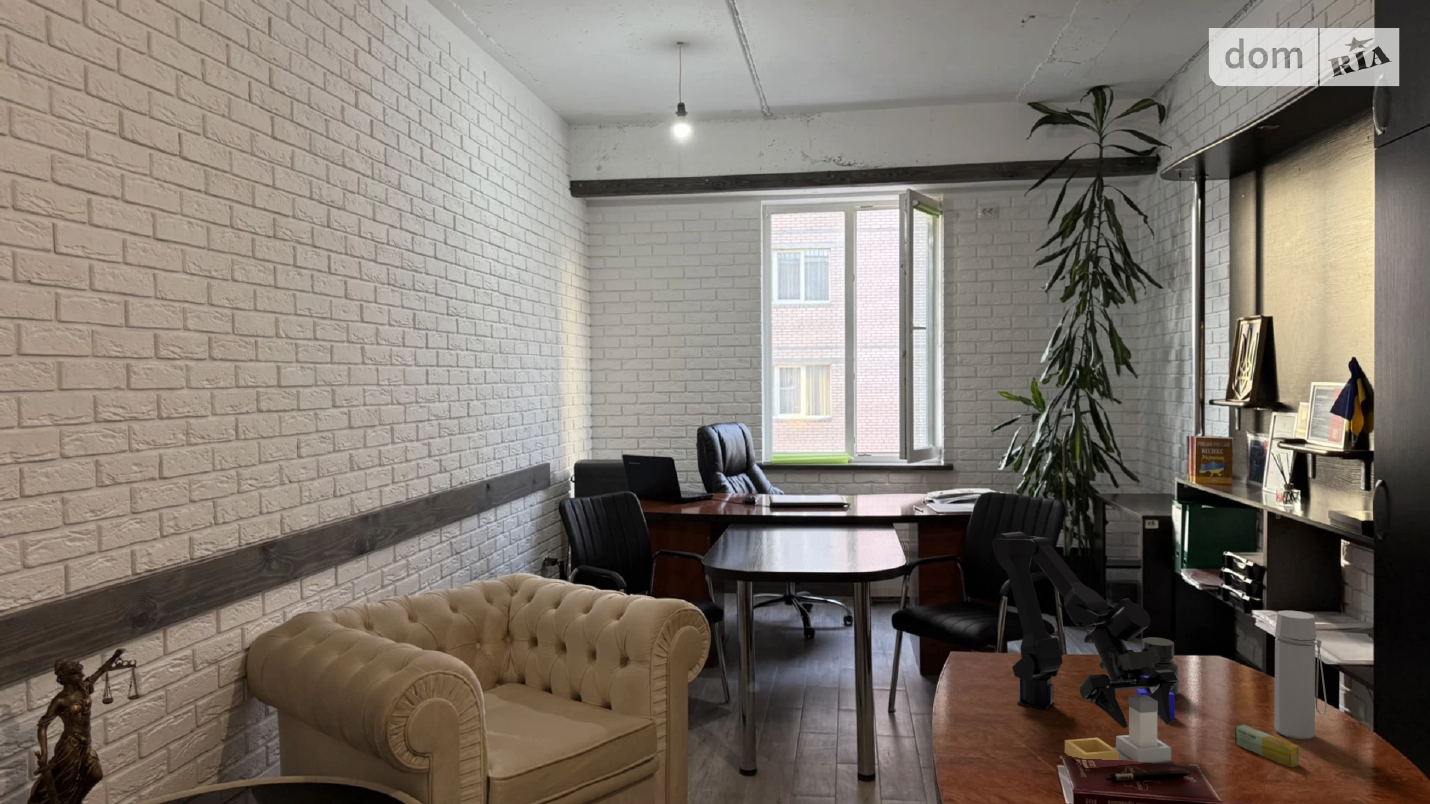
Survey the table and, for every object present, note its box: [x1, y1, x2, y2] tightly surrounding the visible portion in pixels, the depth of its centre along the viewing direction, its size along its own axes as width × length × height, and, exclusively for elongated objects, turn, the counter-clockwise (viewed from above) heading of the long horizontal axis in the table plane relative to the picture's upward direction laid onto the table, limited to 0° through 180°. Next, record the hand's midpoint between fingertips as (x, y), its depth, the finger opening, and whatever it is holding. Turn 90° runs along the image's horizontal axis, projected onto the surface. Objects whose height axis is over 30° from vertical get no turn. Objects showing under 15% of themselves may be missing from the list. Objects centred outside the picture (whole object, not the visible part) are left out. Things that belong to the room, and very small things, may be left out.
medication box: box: [1234, 723, 1300, 768], centre depth 178 cm, size 12×3×4 cm, turn 21°
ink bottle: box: [1138, 636, 1180, 697], centre depth 213 cm, size 10×9×12 cm
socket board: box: [1063, 734, 1174, 764], centre depth 176 cm, size 18×8×3 cm, turn 99°
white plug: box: [1128, 694, 1158, 748], centre depth 177 cm, size 4×4×11 cm
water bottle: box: [1274, 610, 1327, 740], centre depth 187 cm, size 9×8×25 cm
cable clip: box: [1136, 676, 1176, 720], centre depth 202 cm, size 12×4×6 cm, turn 170°
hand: (1147, 725), depth 176 cm, fingers open, 9 cm apart
